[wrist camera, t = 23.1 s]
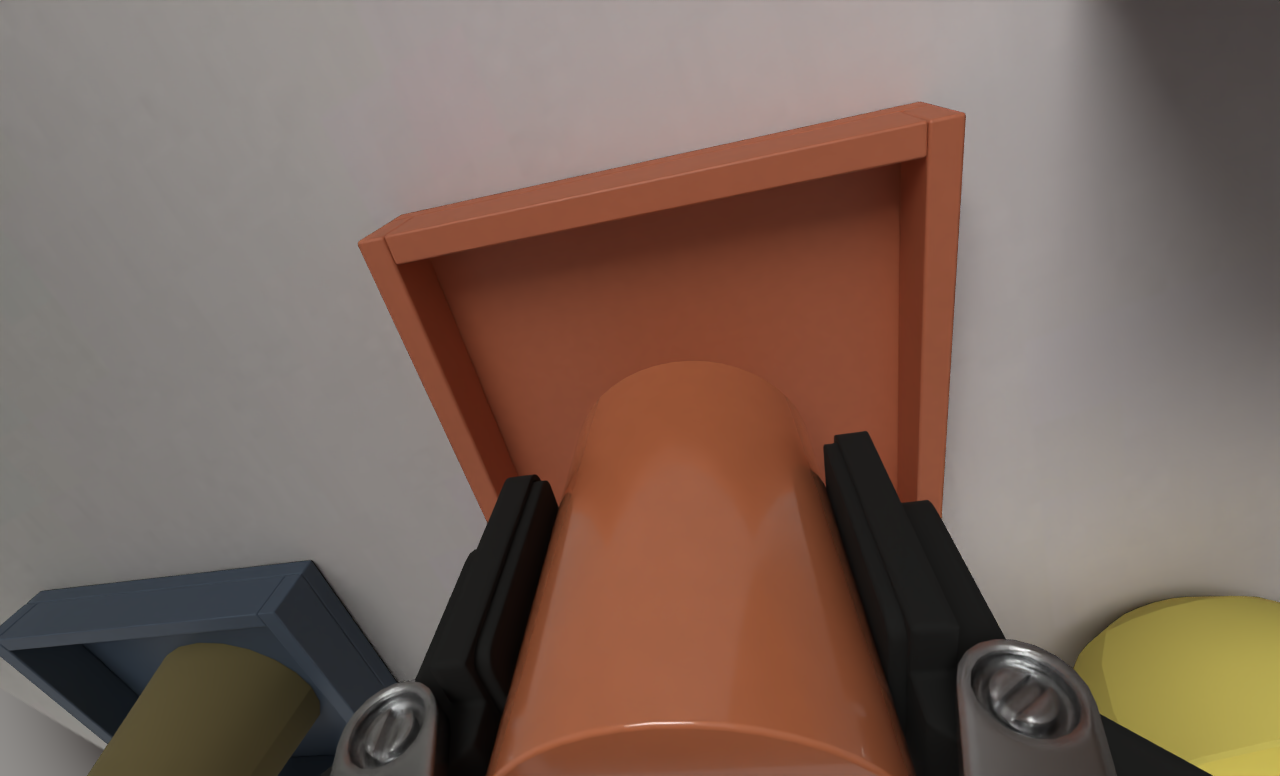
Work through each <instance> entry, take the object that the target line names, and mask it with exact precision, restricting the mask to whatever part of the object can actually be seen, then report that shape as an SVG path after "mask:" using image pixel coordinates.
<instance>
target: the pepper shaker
mask: <svg viewBox="0 0 1280 776" xmlns="http://www.w3.org/2000/svg"><path fill="white" fill-rule="evenodd" d="M319 715H320V701H319V699H318V698H317V696H316V694H315V692H314V691H313V689H312V687H311V686H310V685H309V684H308V683H307V682H306V681H304V680H303V679H302V678H301V677H300V676H299V675H298V674H297V673H296V672H294V671H293V670H291V669H289V668H288V667H286V666H284V665H283V664H281V663H280V662H278V661H276V660H275V659H272V658H270V657H267V656H265V655H262V654H259V653H257V652H254V651H252V650H249V649H245V648H241V647H236V646H232V645H227V644H222V643H195V644H190V645H186V646H181V647H178V648H177V649H175V650H174V651H172V652H171V653H169V654H168V655H167V656H166V657H165V658H164V660H163V662H162V663H161V665H160V666H159V668H158V669H157V671H156V672H155V674H154V675H153V677H152V678H151V680H150V681H149V683H148V684H147V686H146V687H145V689H144V690H143V692H142V693H141V695H140V696H139V698H138V699H137V701H136V702H135V704H134V706H133V707H132V709H131V710H130V712H129V713H128V715H127V716H126V718H125V719H124V721H123V722H122V724H121V725H120V727H119V728H118V730H117V731H116V733H115V734H114V736H113V737H112V739H111V740H110V742H109V743H108V745H107V746H106V748H105V750H104V751H103V753H102V754H101V756H100V757H99V759H98V760H97V762H96V763H95V765H94V766H93V768H92V769H91V771H90V772H89V774H88V775H87V776H278V774H279V773H280V771H281V770H282V769H283V767H284V766H285V764H286V763H287V761H288V760H289V759H290V757H291V756H292V754H293V753H294V751H295V750H296V748H297V747H298V746H299V744H300V743H301V741H302V740H303V738H304V737H305V736H306V734H307V733H308V731H309V730H310V728H311V727H312V726H313V724H314V723H315V721H316V720H317V718H318V717H319Z"/></svg>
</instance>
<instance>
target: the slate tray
mask: <svg viewBox="0 0 1280 776" xmlns="http://www.w3.org/2000/svg"><path fill="white" fill-rule="evenodd" d="M195 643H222V644H227V645H232V646H236V647H241V648H245V649H249V650H252V651H254V652H257V653H259V654H262V655H265V656H267V657H270V658H272V659H275V660H276V661H278V662H280V663H281V664H283V665H284V666H286V667H288V668H289V669H291V670H293V671H294V672H296V673H297V674H298V675H299V676H300V677H301V678H302V679H303V680H304V681H306V682H307V683H308V684H309V685H310V686H311V687H312V689H313V691H314V692H315V694H316V696H317V698H318V699H319V701H320V715H319V717H318V718H317V720H316V721H315V723H314V724H313V726H312V727H311V728H310V730H309V731H308V733H307V734H306V736H305V737H304V738H303V740H302V741H301V743H300V744H299V746H298V747H297V748H296V750H295V751H294V753H293V754H292V756H291V757H290V759H289V760H288V761H287V763H286V764H285V766H284V767H283V769H282V770H281V771H280V773H279V774H278V776H320V775H321V774H322V773H323V772H325V771H326V770H327V769H329V768H330V767H331V766H332V765H333V762H334V758H335V754H336V750H337V746H338V743H339V740H340V737H341V735H342V732H343V730H344V728H345V726H346V725H347V723H348V722H349V720H350V719H351V717H352V716H353V714H354V713H355V712H356V711H357V710H358V709H359V708H360V707H361V706H362V705H363V704H364V702H365V701H366V700H368V699H369V698H371V697H372V696H373V695H375V694H376V693H377V692H379V691H380V690H382V689H384V688H386V687H389V686H391V685H393V684H395V683H397V682H396V680H395V679H394V677H393V676H392V675H391V673H390V672H389V670H388V669H387V667H386V666H385V665H384V663H383V662H382V660H381V659H380V657H379V656H378V655H377V653H376V652H375V650H374V649H373V647H372V646H371V645H370V643H369V642H368V640H367V639H366V637H365V636H364V635H363V633H362V632H361V630H360V629H359V628H358V626H357V625H356V623H355V622H354V620H353V619H352V618H351V616H350V615H349V613H348V612H347V610H346V609H345V608H344V606H343V605H342V603H341V602H340V600H339V599H338V598H337V596H336V595H335V593H334V592H333V590H332V589H331V588H330V586H329V585H328V583H327V582H326V580H325V579H324V578H323V576H322V575H321V573H320V572H319V570H318V569H317V568H316V566H315V565H314V563H313V562H312V561H310V560H309V561H300V562H292V563H283V564H274V565H265V566H257V567H248V568H239V569H230V570H222V571H213V572H204V573H196V574H187V575H178V576H169V577H161V578H152V579H143V580H134V581H126V582H117V583H108V584H99V585H91V586H82V587H73V588H65V589H56V590H47V591H41V592H39V593H38V594H37V595H36V596H35V597H34V598H32V599H31V600H30V601H29V602H28V603H27V605H24V606H23V607H22V608H20V609H19V610H18V611H17V612H16V613H15V614H13V615H12V616H11V617H10V618H9V619H7V620H6V621H5V622H4V623H3V624H2V625H0V657H2V658H3V659H4V660H5V661H6V662H8V663H9V664H10V665H11V666H13V667H14V668H15V669H16V670H17V671H19V672H20V673H21V674H22V675H24V676H25V677H26V678H27V679H28V680H30V681H31V682H32V683H33V684H35V685H36V686H37V687H38V688H39V689H41V690H42V691H43V692H44V693H46V694H47V695H48V696H49V697H50V698H52V699H53V700H54V701H55V702H57V703H58V704H59V705H60V706H61V707H63V708H64V709H65V710H66V711H68V712H69V713H70V714H71V715H72V716H74V717H75V718H76V719H77V720H79V721H80V722H81V723H82V724H83V725H85V726H86V727H87V728H88V729H90V730H91V731H92V732H93V733H94V734H96V735H97V736H98V737H99V738H101V739H102V740H103V741H104V742H105V743H107V744H108V743H109V742H110V740H111V739H112V737H113V736H114V734H115V733H116V731H117V730H118V728H119V727H120V725H121V724H122V722H123V721H124V719H125V718H126V716H127V715H128V713H129V712H130V710H131V709H132V707H133V706H134V704H135V702H136V701H137V699H138V698H139V696H140V695H141V693H142V692H143V690H144V689H145V687H146V686H147V684H148V683H149V681H150V680H151V678H152V677H153V675H154V674H155V672H156V671H157V669H158V668H159V666H160V665H161V663H162V662H163V660H164V658H165V657H166V656H167V655H168V654H169V653H171V652H172V651H174V650H175V649H177V648H178V647H181V646H186V645H190V644H195Z"/></svg>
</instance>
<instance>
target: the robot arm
mask: <svg viewBox="0 0 1280 776" xmlns="http://www.w3.org/2000/svg"><path fill="white" fill-rule="evenodd" d="M823 452H824V466H825V480H826V489H827V493H828V496H829V499H830V502H831V505H832V508H833V512H834V515H835V518H836V521H837V524H838V527H839V531H840V534H841V537H842V540H843V543H844V546H845V550H846V553H847V556H848V559H849V562H850V565H851V569H852V572H853V575H854V578H855V581H856V584H857V588H858V591H859V594H860V597H861V600H862V603H863V607H864V610H865V613H866V616H867V619H868V622H869V626H870V629H871V632H872V635H873V638H874V641H875V645H876V648H877V651H878V654H879V657H880V660H881V664H882V667H883V670H884V673H885V676H886V679H887V683H888V686H889V689H890V692H891V695H892V698H893V701H894V704H895V707H896V710H897V714H898V717H899V720H900V723H901V726H902V729H903V733H904V736H905V739H906V742H907V745H908V748H909V752H910V755H911V758H912V761H913V764H914V767H915V771H916V774H917V776H1213V775H1211V774H1209V773H1208V772H1206V771H1204V770H1202V769H1200V768H1198V767H1197V766H1195V765H1193V764H1191V763H1189V762H1187V761H1186V760H1184V759H1182V758H1180V757H1178V756H1176V755H1175V754H1173V753H1171V752H1169V751H1167V750H1165V749H1164V748H1162V747H1160V746H1158V745H1156V744H1154V743H1153V742H1151V741H1149V740H1147V739H1145V738H1143V737H1142V736H1140V735H1138V734H1136V733H1134V732H1132V731H1131V730H1129V729H1127V728H1125V727H1123V726H1121V725H1120V724H1118V723H1116V722H1114V721H1112V720H1110V719H1109V718H1107V717H1105V716H1103V715H1101V714H1100V713H1099V710H1098V706H1097V704H1096V701H1095V699H1094V697H1093V695H1092V693H1091V691H1090V689H1089V686H1088V685H1087V684H1086V683H1085V682H1084V681H1083V679H1082V678H1081V677H1080V676H1079V675H1078V673H1077V672H1076V671H1075V670H1074V669H1073V668H1072V667H1070V666H1069V665H1068V664H1066V663H1065V662H1064V661H1062V660H1061V659H1060V658H1058V657H1057V656H1056V655H1054V654H1052V653H1050V652H1048V651H1046V650H1044V649H1042V648H1040V647H1038V646H1035V645H1032V644H1028V643H1024V642H1021V641H1017V640H1006V639H1005V637H1004V635H1003V633H1002V631H1001V629H1000V628H999V626H998V624H997V622H996V620H995V618H994V616H993V614H992V613H991V611H990V609H989V607H988V605H987V603H986V601H985V600H984V598H983V596H982V594H981V592H980V590H979V588H978V586H977V585H976V583H975V581H974V579H973V577H972V575H971V573H970V572H969V570H968V568H967V566H966V564H965V562H964V560H963V559H962V557H961V555H960V553H959V551H958V549H957V547H956V545H955V544H954V542H953V540H952V538H951V536H950V534H949V532H948V531H947V529H946V527H945V525H944V523H943V521H942V519H941V517H940V516H939V514H938V512H937V510H936V508H935V507H934V505H933V504H932V503H931V502H930V501H929V500H922V501H912V502H903V503H901V501H900V499H899V497H898V495H897V493H896V490H895V488H894V486H893V484H892V482H891V480H890V478H889V475H888V473H887V471H886V469H885V467H884V465H883V463H882V461H881V458H880V456H879V454H878V452H877V450H876V448H875V446H874V443H873V441H872V439H871V437H870V435H869V433H868V432H867V431H861V432H854V433H846V434H838V435H835V436H834V443H832V444H824V446H823ZM558 509H559V506H558V504H557V501H556V498H555V496H554V493H553V490H552V488H551V485H550V483H549V482H548V481H546V480H544V481H541V480H540V478H539V476H538V475H536V474H533V475H525V476H517V477H510V478H507V479H506V481H505V482H504V484H503V487H502V489H501V492H500V494H499V497H498V499H497V501H496V504H495V506H494V509H493V511H492V514H491V516H490V518H489V521H488V523H487V526H486V528H485V530H484V533H483V535H482V538H481V540H480V543H479V545H478V547H477V549H476V550H474V551H472V552H471V553H470V554H469V556H468V558H467V560H466V562H465V564H464V566H463V569H462V571H461V573H460V576H459V578H458V580H457V583H456V585H455V588H454V590H453V592H452V595H451V597H450V599H449V602H448V604H447V606H446V609H445V611H444V613H443V616H442V618H441V621H440V623H439V625H438V628H437V630H436V632H435V635H434V637H433V639H432V642H431V644H430V646H429V649H428V651H427V654H426V656H425V658H424V661H423V663H422V665H421V668H420V670H419V672H418V675H417V677H416V679H415V682H413V681H405V682H400V683H395V684H393V685H391V686H389V687H386V688H384V689H382V690H380V691H379V692H377V693H376V694H375V695H373V696H372V697H371V698H369V699H368V700H366V701H365V702H364V704H363V705H362V706H361V707H360V708H359V709H358V710H357V711H356V712H355V713H354V714H353V716H352V717H351V719H350V720H349V722H348V723H347V725H346V726H345V728H344V730H343V732H342V735H341V737H340V740H339V743H338V746H337V750H336V754H335V758H334V762H333V765H332V766H331V767H330V768H329V769H327V770H326V771H325V772H323V773H322V774H321V775H320V776H486V773H487V769H488V766H489V762H490V758H491V755H492V751H493V747H494V744H495V740H496V736H497V733H498V729H499V725H500V722H501V718H502V714H503V711H504V707H505V703H506V700H507V696H508V692H509V689H510V685H511V681H512V678H513V674H514V670H515V667H516V663H517V659H518V656H519V652H520V648H521V645H522V641H523V637H524V634H525V630H526V626H527V623H528V619H529V615H530V612H531V608H532V604H533V601H534V597H535V593H536V590H537V586H538V582H539V579H540V575H541V571H542V568H543V564H544V560H545V557H546V553H547V549H548V546H549V542H550V538H551V535H552V531H553V527H554V524H555V520H556V516H557V513H558Z"/></svg>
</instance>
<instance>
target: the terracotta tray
mask: <svg viewBox="0 0 1280 776" xmlns="http://www.w3.org/2000/svg"><path fill="white" fill-rule="evenodd" d="M965 120H966V115H965V113H962V112H958V111H954V110H951V109H947V108H943V107H939V106H935V105H931V104H928V103H924V102H916V103H912V104H907V105H902V106H898V107H893V108H889V109H884V110H880V111H875V112H870V113H866V114H861V115H857V116H852V117H847V118H843V119H838V120H834V121H829V122H825V123H820V124H815V125H811V126H806V127H802V128H797V129H792V130H788V131H783V132H779V133H774V134H770V135H765V136H760V137H756V138H751V139H747V140H742V141H737V142H733V143H728V144H724V145H719V146H715V147H710V148H705V149H701V150H696V151H692V152H687V153H682V154H678V155H673V156H669V157H664V158H660V159H655V160H650V161H646V162H641V163H637V164H632V165H627V166H623V167H618V168H614V169H609V170H605V171H600V172H595V173H591V174H586V175H582V176H577V177H573V178H568V179H563V180H559V181H554V182H550V183H545V184H540V185H536V186H531V187H527V188H522V189H518V190H513V191H508V192H504V193H499V194H495V195H490V196H485V197H481V198H476V199H472V200H467V201H463V202H458V203H453V204H449V205H444V206H440V207H435V208H430V209H426V210H421V211H417V212H412V213H408V214H403V215H400V216H399V217H397V218H395V219H394V220H392V221H391V222H389V223H388V224H386V225H384V226H383V227H381V228H380V229H378V230H376V231H375V232H373V233H371V234H370V235H368V236H367V237H365V238H363V239H362V240H360V241H359V242H358V246H359V248H360V251H361V253H362V255H363V257H364V259H365V261H366V263H367V266H368V268H369V270H370V272H371V274H372V276H373V278H374V281H375V283H376V285H377V287H378V289H379V291H380V294H381V296H382V298H383V300H384V302H385V304H386V306H387V309H388V311H389V313H390V315H391V317H392V319H393V321H394V324H395V326H396V328H397V330H398V332H399V334H400V336H401V339H402V341H403V343H404V345H405V347H406V349H407V351H408V354H409V356H410V358H411V360H412V362H413V364H414V366H415V369H416V371H417V373H418V375H419V377H420V379H421V381H422V384H423V386H424V388H425V390H426V392H427V394H428V396H429V399H430V401H431V403H432V405H433V407H434V409H435V411H436V414H437V416H438V418H439V420H440V422H441V424H442V426H443V429H444V431H445V433H446V435H447V437H448V439H449V441H450V444H451V446H452V448H453V450H454V452H455V454H456V456H457V459H458V461H459V463H460V465H461V467H462V469H463V471H464V474H465V476H466V478H467V480H468V482H469V484H470V486H471V489H472V491H473V493H474V495H475V497H476V499H477V501H478V504H479V506H480V508H481V510H482V512H483V514H484V516H485V519H486V521H487V523H488V521H489V518H490V516H491V514H492V511H493V509H494V506H495V504H496V501H497V499H498V497H499V494H500V492H501V489H502V487H503V484H504V482H505V481H506V479H507V478H510V477H517V476H525V475H533V474H536V475H538V476H539V478H540V480H541V481H544V480H546V481H548V482H549V483H550V485H551V488H552V490H553V493H554V496H555V498H556V501H557V504H558V506H559V505H560V502H561V498H562V494H563V491H564V487H565V483H566V480H567V476H568V472H569V469H570V465H571V461H572V458H573V454H574V450H575V447H576V443H577V439H578V436H579V432H580V429H581V427H582V424H583V422H584V420H585V418H586V416H587V414H588V413H589V411H590V410H591V408H592V407H593V405H594V404H595V403H596V402H597V401H598V399H599V398H600V397H601V396H602V395H603V394H604V393H606V392H607V391H608V390H609V389H610V388H611V387H612V386H614V385H615V384H617V383H618V382H620V381H621V380H623V379H624V378H626V377H628V376H630V375H632V374H634V373H636V372H638V371H641V370H644V369H647V368H650V367H653V366H656V365H660V364H665V363H670V362H678V361H709V362H717V363H723V364H727V365H730V366H734V367H738V368H741V369H743V370H746V371H748V372H751V373H753V374H755V375H757V376H759V377H760V378H762V379H764V380H766V381H768V382H769V383H770V384H772V385H773V386H775V387H776V388H777V389H779V390H780V391H781V392H782V393H783V394H784V395H785V396H786V397H787V398H788V399H789V400H790V401H791V402H792V403H793V405H794V406H795V407H796V409H797V410H798V411H799V413H800V415H801V417H802V418H803V420H804V422H805V424H806V427H807V430H808V433H809V436H810V439H811V442H812V445H813V448H814V451H815V454H816V458H817V461H818V464H819V467H820V470H821V473H822V477H823V480H824V483H825V486H826V480H825V466H824V452H823V446H824V444H832V443H834V436H835V435H838V434H846V433H854V432H861V431H867V432H868V433H869V435H870V437H871V439H872V441H873V443H874V446H875V448H876V450H877V452H878V454H879V456H880V458H881V461H882V463H883V465H884V467H885V469H886V471H887V473H888V475H889V478H890V480H891V482H892V484H893V486H894V488H895V490H896V493H897V495H898V497H899V499H900V501H901V503H903V502H912V501H922V500H929V501H930V502H931V503H932V504H933V505H934V507H935V508H936V510H937V512H938V514H939V516H940V517H941V518H942V502H943V485H944V468H945V452H946V435H947V419H948V402H949V385H950V369H951V352H952V336H953V319H954V302H955V286H956V269H957V253H958V236H959V219H960V203H961V186H962V170H963V153H964V137H965Z"/></svg>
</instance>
